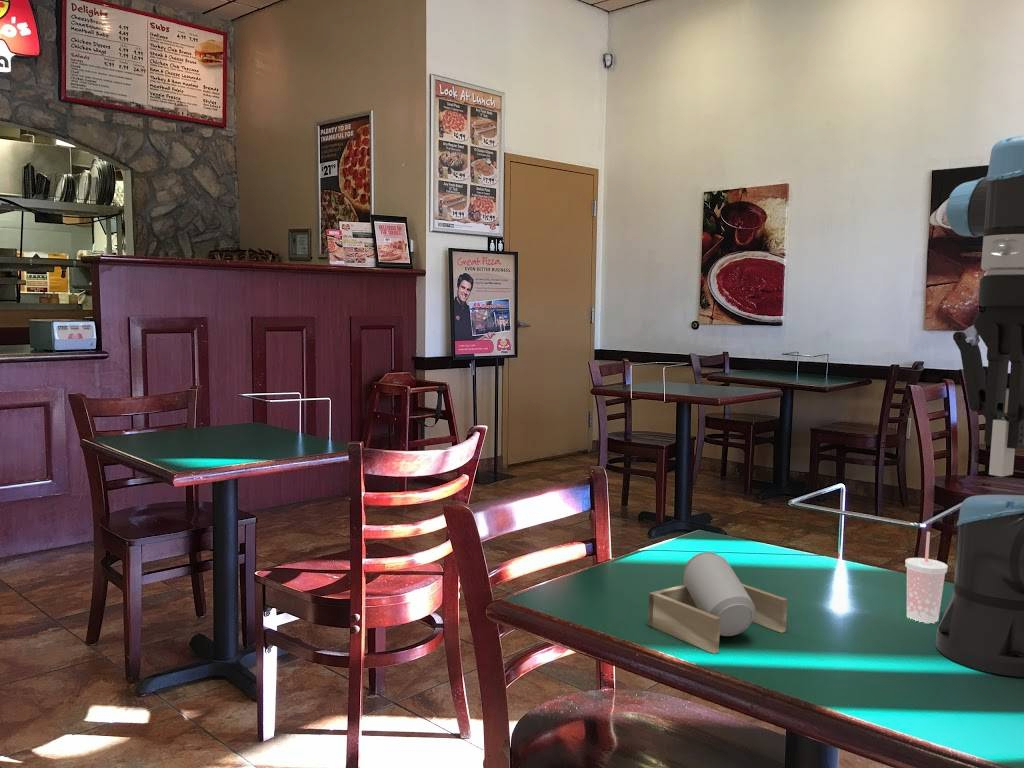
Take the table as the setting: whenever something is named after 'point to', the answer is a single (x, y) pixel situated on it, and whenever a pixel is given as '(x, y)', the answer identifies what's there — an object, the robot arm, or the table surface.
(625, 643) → the table surface
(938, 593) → the beverage cup
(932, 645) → the table surface
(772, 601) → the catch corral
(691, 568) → the can
